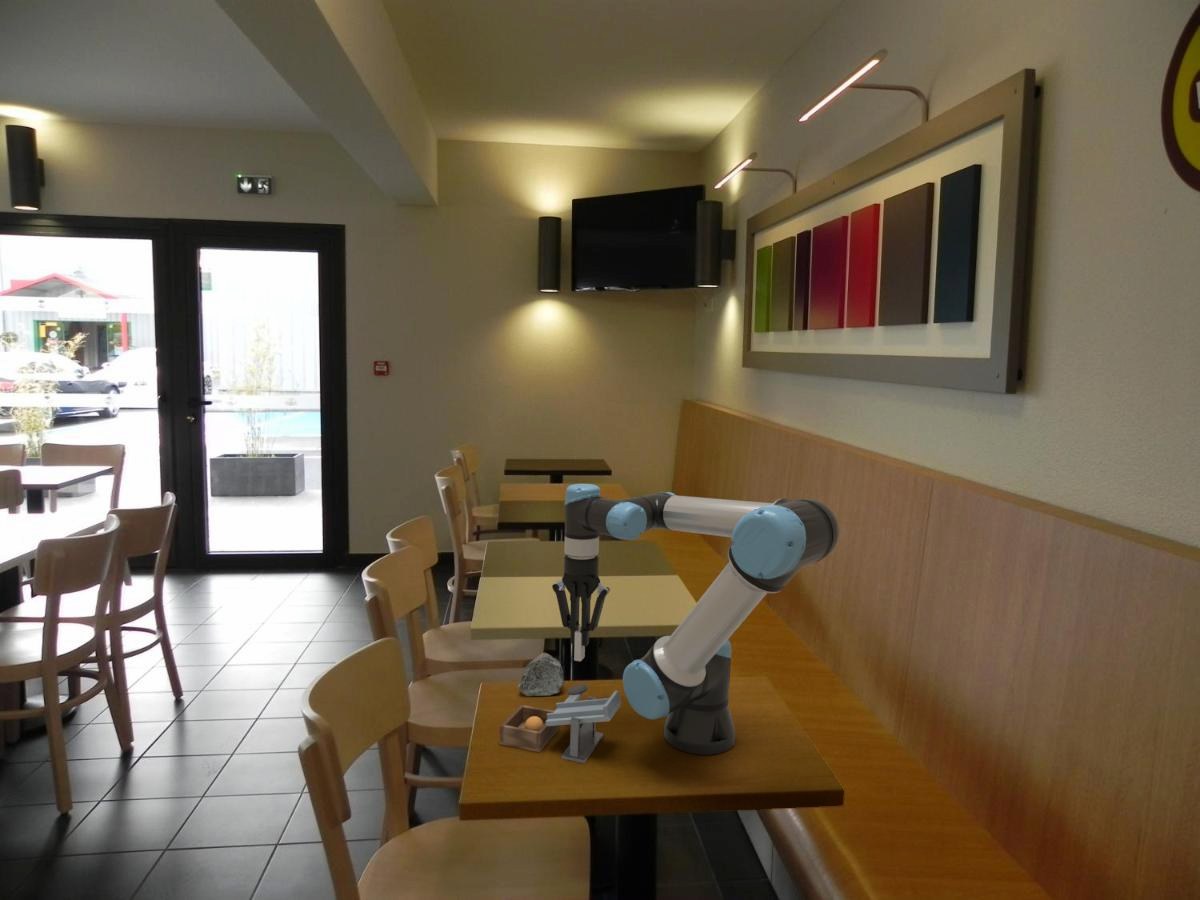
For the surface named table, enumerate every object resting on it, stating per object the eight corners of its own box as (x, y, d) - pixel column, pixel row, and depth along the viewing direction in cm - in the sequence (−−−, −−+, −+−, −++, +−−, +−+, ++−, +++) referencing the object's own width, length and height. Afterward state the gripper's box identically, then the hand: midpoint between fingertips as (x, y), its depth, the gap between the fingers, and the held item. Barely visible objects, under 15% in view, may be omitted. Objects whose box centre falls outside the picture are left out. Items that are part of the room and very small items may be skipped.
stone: (541, 658, 183) (552, 642, 193) (510, 681, 185) (522, 664, 195) (567, 691, 183) (576, 673, 193) (535, 713, 185) (545, 694, 195)
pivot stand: (603, 735, 168) (604, 697, 167) (584, 763, 157) (585, 722, 156) (581, 731, 170) (582, 694, 169) (561, 758, 158) (562, 718, 157)
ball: (547, 715, 167) (530, 710, 168) (540, 724, 164) (522, 719, 165) (545, 733, 168) (528, 728, 169) (538, 741, 164) (520, 736, 165)
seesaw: (634, 685, 173) (631, 672, 173) (609, 722, 156) (605, 707, 156) (573, 691, 178) (570, 679, 178) (542, 727, 161) (539, 713, 160)
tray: (558, 729, 171) (559, 711, 170) (539, 752, 161) (540, 733, 160) (520, 721, 173) (521, 704, 173) (499, 744, 163) (500, 726, 163)
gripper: (615, 553, 172) (612, 656, 175) (559, 548, 176) (558, 648, 179) (604, 562, 165) (602, 669, 168) (547, 556, 169) (545, 660, 172)
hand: (579, 658), depth 174 cm, fingers closed
